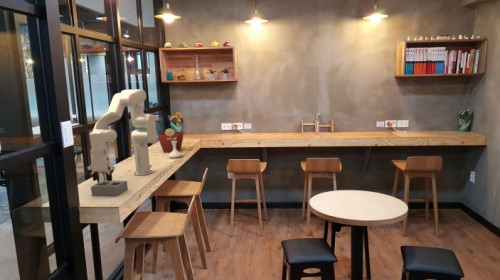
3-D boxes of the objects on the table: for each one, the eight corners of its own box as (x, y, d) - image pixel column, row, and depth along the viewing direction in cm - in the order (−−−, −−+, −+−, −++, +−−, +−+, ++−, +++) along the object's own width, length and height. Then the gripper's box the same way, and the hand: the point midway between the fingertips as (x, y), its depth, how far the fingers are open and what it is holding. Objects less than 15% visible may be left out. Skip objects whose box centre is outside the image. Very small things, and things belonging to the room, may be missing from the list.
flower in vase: (183, 155, 294) (181, 127, 289) (179, 158, 283) (177, 129, 278) (169, 155, 295) (166, 127, 291) (164, 159, 284) (162, 129, 280)
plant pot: (165, 149, 325) (163, 131, 322) (184, 148, 324) (183, 131, 321) (159, 153, 306) (157, 135, 303) (180, 153, 305) (178, 134, 302)
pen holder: (108, 180, 228) (106, 166, 226) (115, 182, 222) (113, 168, 220) (94, 184, 221) (92, 169, 219) (101, 186, 215) (99, 171, 213)
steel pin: (102, 188, 205) (100, 171, 204) (108, 189, 205) (106, 171, 203) (98, 190, 201) (96, 172, 200) (104, 191, 201) (103, 172, 199)
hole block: (103, 189, 210) (102, 180, 209) (127, 189, 207) (126, 180, 206) (91, 195, 198) (90, 186, 197) (117, 196, 196) (116, 187, 195)
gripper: (116, 151, 201) (119, 178, 204) (89, 151, 204) (93, 178, 207) (109, 153, 194) (112, 182, 197) (81, 153, 197) (85, 182, 200)
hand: (102, 180), depth 202 cm, fingers open, 9 cm apart
